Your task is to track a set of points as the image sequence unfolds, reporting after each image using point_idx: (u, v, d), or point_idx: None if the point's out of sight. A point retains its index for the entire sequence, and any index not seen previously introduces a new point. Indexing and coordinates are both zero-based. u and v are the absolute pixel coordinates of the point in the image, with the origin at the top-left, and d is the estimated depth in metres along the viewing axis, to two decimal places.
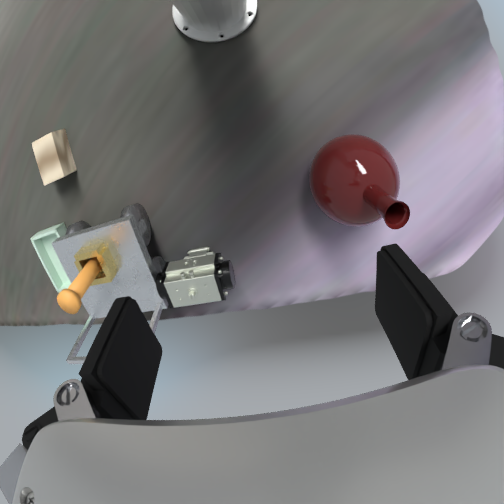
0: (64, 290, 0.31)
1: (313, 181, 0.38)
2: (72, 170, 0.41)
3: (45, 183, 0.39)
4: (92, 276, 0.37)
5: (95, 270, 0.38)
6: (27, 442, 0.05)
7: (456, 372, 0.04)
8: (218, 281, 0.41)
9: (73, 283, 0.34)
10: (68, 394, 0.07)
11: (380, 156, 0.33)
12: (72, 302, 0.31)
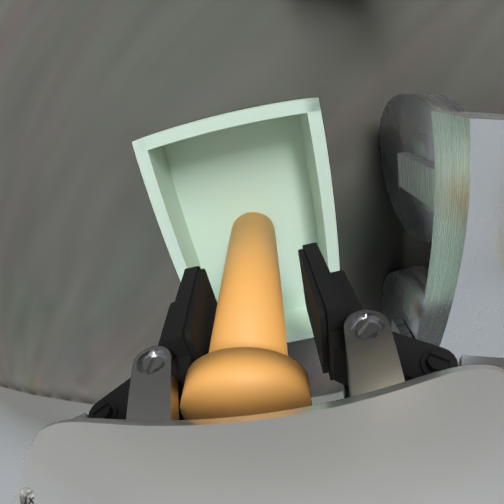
0: (238, 360, 0.06)
1: None
2: None
3: None
4: None
5: None
6: None
7: (456, 372, 0.04)
8: None
9: (245, 312, 0.09)
10: (152, 360, 0.08)
11: None
12: None
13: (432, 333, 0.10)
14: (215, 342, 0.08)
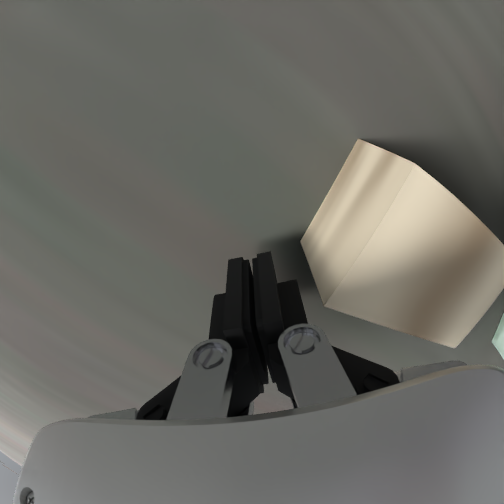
0: None
1: None
2: None
3: (458, 341, 0.10)
4: None
5: None
6: None
7: (456, 372, 0.04)
8: None
9: None
10: (211, 353, 0.07)
11: None
12: None
13: None
14: None
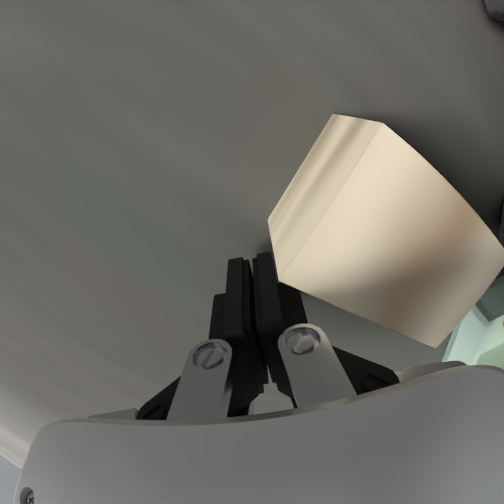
0: None
1: None
2: None
3: (439, 340, 0.10)
4: None
5: None
6: None
7: (456, 372, 0.04)
8: None
9: None
10: (210, 353, 0.07)
11: None
12: None
13: None
14: None
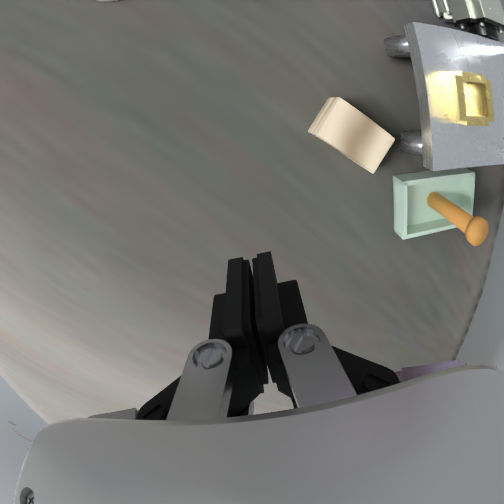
0: (467, 231, 0.26)
1: None
2: None
3: (373, 169, 0.30)
4: (452, 203, 0.31)
5: (446, 200, 0.32)
6: None
7: (456, 372, 0.04)
8: None
9: (459, 222, 0.28)
10: (210, 353, 0.07)
11: None
12: (480, 224, 0.25)
13: None
14: (464, 232, 0.28)
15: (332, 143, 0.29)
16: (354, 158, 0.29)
